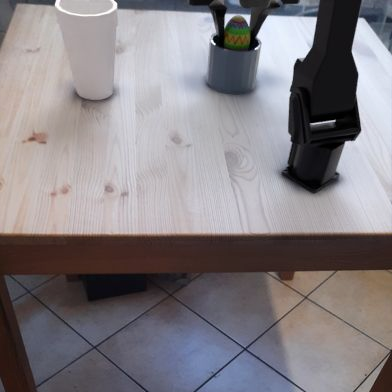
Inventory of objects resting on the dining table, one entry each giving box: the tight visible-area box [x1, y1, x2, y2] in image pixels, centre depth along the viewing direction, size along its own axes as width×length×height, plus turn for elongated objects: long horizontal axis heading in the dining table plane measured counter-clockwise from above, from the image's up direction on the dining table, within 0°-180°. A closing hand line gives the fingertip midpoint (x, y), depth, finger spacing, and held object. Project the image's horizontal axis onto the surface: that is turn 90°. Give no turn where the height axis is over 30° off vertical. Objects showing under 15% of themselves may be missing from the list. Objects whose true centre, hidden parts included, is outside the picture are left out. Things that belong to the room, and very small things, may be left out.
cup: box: [206, 32, 263, 95], centre depth 87 cm, size 9×9×7 cm
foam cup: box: [54, 0, 119, 101], centre depth 80 cm, size 10×9×13 cm
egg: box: [223, 14, 250, 51], centre depth 84 cm, size 5×5×6 cm
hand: (235, 47), depth 85 cm, fingers closed on egg, 5 cm apart
